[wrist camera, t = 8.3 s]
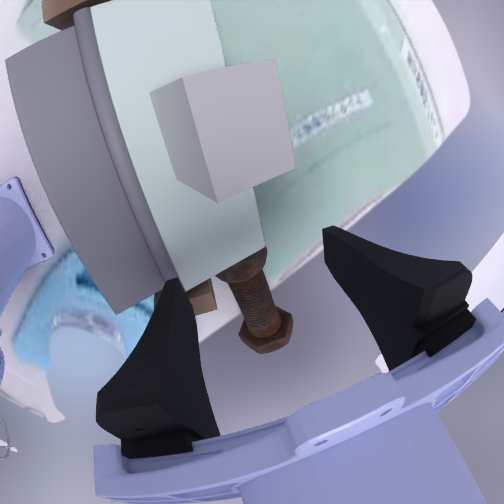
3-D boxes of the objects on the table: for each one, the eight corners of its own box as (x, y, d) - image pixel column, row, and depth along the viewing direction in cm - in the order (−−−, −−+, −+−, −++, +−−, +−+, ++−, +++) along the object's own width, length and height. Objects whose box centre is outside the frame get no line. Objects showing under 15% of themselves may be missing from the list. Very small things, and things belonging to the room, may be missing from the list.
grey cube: (176, 179, 14) (218, 203, 11) (149, 92, 11) (182, 77, 8) (238, 153, 16) (295, 168, 12) (218, 73, 13) (275, 59, 9)
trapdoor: (114, 303, 18) (122, 329, 16) (12, 60, 8) (-1, 48, 5) (244, 232, 22) (267, 247, 20) (187, 1, 12) (207, -17, 9)
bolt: (221, 189, 24) (265, 307, 32) (173, 220, 21) (234, 336, 30) (269, 197, 20) (304, 328, 28) (215, 236, 17) (271, 363, 26)
